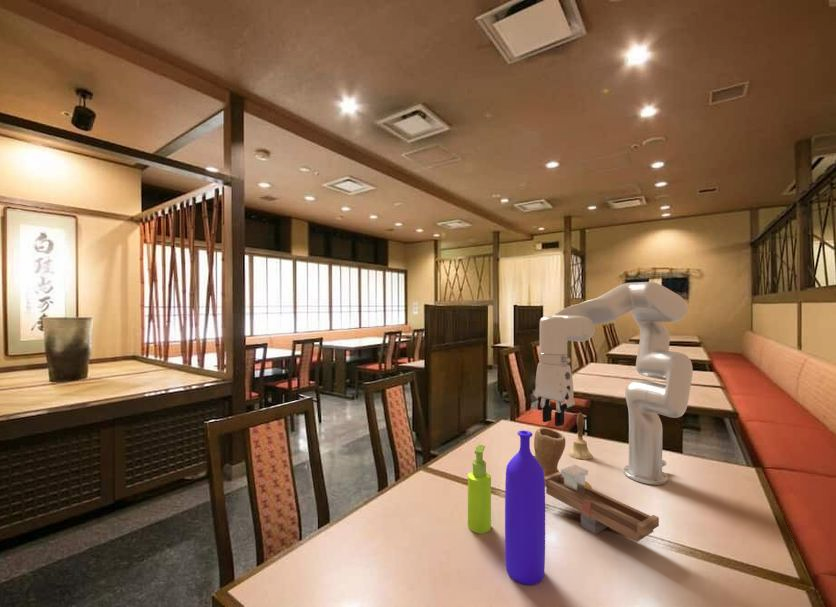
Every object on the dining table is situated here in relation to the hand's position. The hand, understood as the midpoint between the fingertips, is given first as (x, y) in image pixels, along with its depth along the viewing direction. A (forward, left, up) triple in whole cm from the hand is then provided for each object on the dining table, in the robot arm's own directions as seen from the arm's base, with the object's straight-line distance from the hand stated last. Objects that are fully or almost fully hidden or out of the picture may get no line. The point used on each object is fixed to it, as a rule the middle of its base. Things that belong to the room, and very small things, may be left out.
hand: (553, 422), depth 108 cm
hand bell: (-37, -17, -24) cm, 47 cm away
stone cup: (-13, -14, -24) cm, 30 cm away
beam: (0, +13, -23) cm, 27 cm away
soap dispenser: (+25, -3, -23) cm, 34 cm away
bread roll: (-12, -1, -24) cm, 27 cm away
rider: (0, +7, -17) cm, 19 cm away
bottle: (+28, +15, -23) cm, 39 cm away
